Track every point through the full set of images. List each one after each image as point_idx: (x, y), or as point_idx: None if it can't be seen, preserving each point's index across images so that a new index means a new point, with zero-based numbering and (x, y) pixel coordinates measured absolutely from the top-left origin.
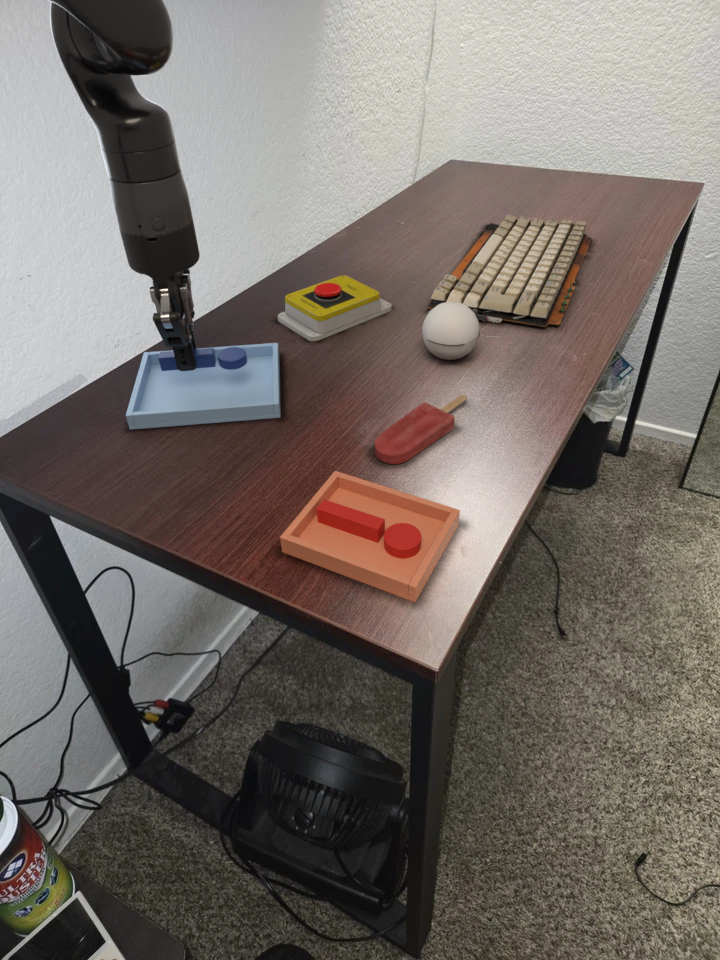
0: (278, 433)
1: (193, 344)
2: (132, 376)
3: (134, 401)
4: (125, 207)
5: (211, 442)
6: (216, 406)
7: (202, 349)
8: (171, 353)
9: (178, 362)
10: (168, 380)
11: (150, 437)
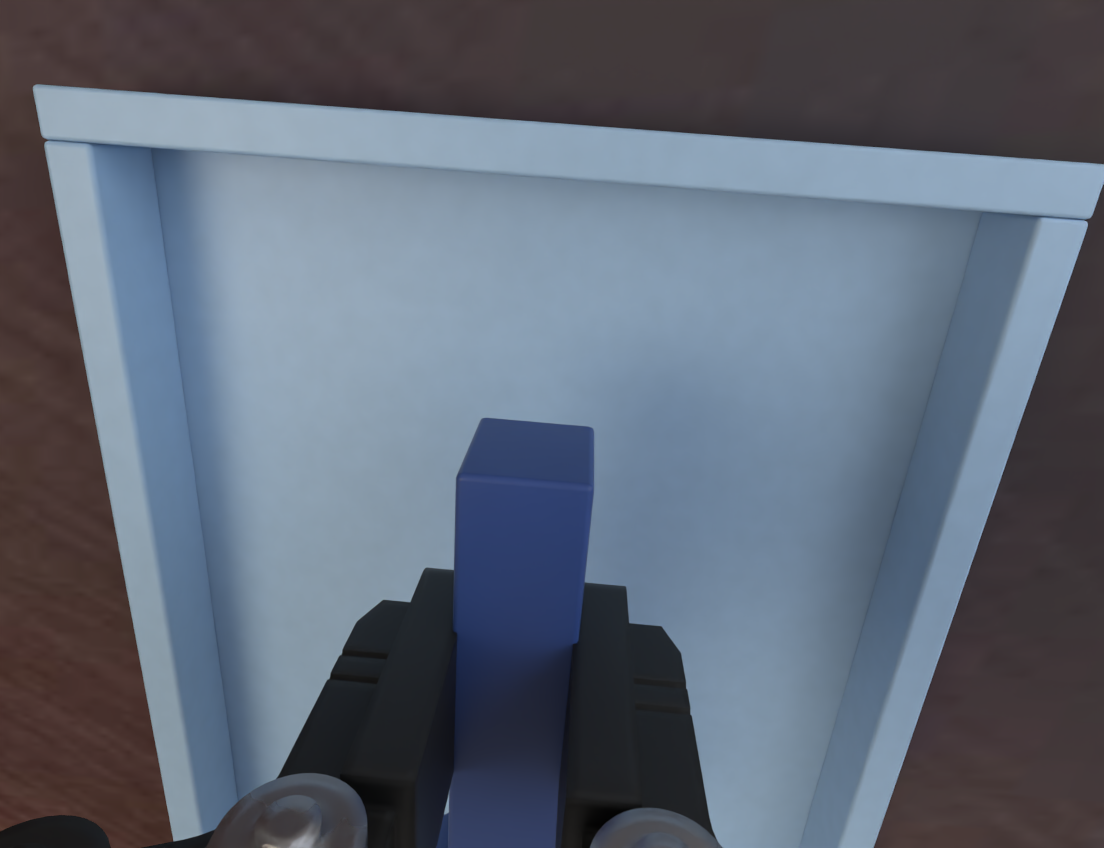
0: (116, 826)
1: (557, 820)
2: (891, 38)
3: (235, 147)
4: None
5: (29, 574)
6: (161, 684)
7: (545, 825)
8: (524, 597)
9: (345, 648)
10: (679, 355)
11: (51, 248)
